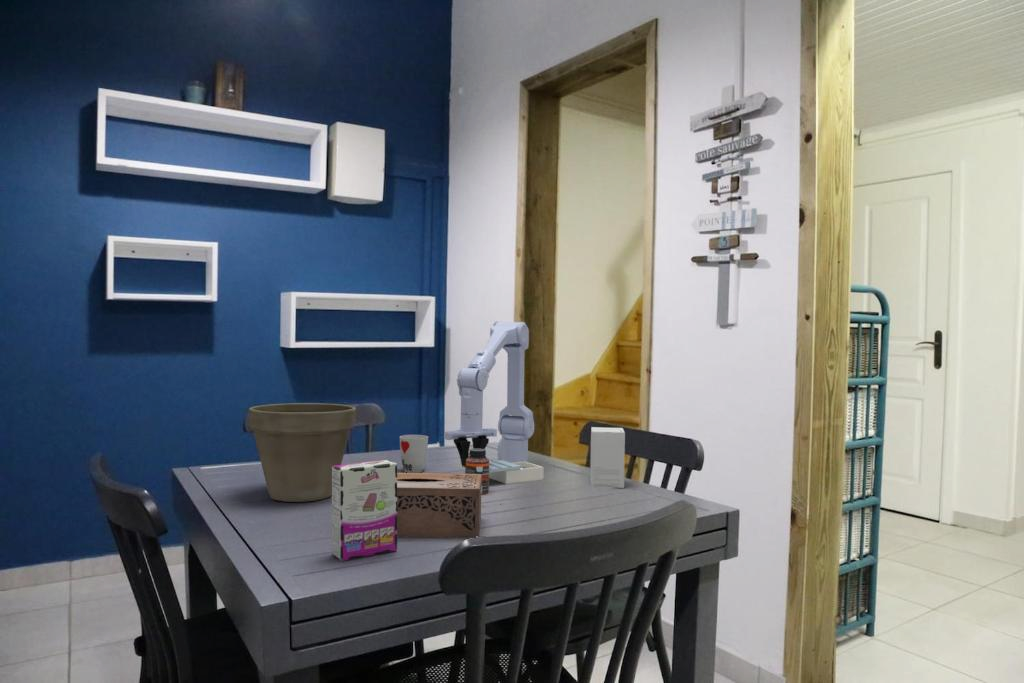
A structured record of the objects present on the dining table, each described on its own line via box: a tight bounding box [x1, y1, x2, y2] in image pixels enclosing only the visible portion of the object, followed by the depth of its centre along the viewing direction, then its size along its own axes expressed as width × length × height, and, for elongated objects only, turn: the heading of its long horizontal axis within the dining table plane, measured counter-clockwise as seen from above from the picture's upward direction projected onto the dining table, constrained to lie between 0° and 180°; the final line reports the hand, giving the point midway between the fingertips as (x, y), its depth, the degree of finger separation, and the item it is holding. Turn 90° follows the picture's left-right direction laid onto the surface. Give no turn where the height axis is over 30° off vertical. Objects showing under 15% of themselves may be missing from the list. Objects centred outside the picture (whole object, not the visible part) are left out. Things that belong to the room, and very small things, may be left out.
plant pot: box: [248, 402, 357, 503], centre depth 174 cm, size 25×25×22 cm
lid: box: [461, 452, 521, 472], centre depth 191 cm, size 10×14×4 cm
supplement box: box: [589, 426, 626, 489], centre depth 194 cm, size 9×9×15 cm
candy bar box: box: [331, 459, 398, 562], centre depth 131 cm, size 11×5×16 cm, turn 126°
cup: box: [399, 434, 429, 473], centre depth 205 cm, size 8×8×10 cm
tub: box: [489, 461, 545, 485], centre depth 196 cm, size 9×12×4 cm
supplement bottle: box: [464, 447, 490, 496], centre depth 179 cm, size 6×6×11 cm
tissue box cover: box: [397, 472, 482, 539], centre depth 149 cm, size 26×14×10 cm, turn 91°
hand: (470, 465), depth 188 cm, fingers closed on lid, 3 cm apart
